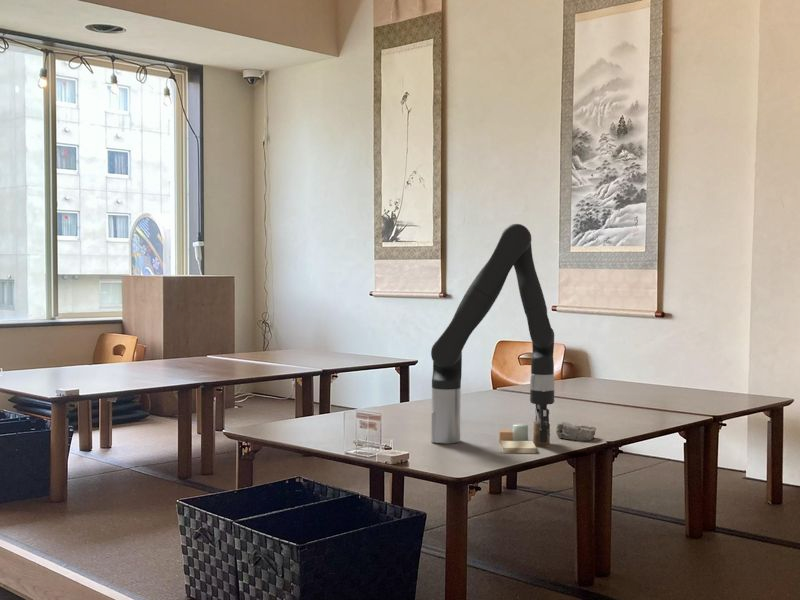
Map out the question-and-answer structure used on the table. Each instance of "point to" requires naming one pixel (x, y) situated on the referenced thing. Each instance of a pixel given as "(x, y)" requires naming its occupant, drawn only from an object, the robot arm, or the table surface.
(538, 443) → the walnut block
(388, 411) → the table surface
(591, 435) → the stone
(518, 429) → the grey-green square block
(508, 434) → the ochre cube
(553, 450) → the table surface
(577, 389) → the table surface
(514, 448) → the board
